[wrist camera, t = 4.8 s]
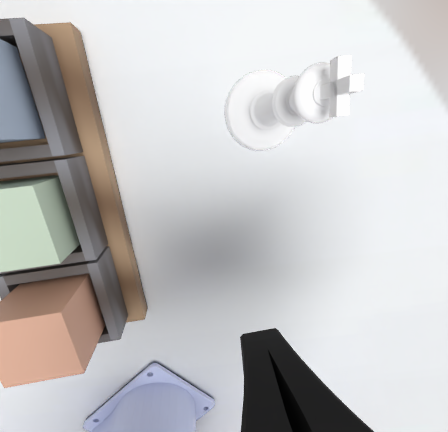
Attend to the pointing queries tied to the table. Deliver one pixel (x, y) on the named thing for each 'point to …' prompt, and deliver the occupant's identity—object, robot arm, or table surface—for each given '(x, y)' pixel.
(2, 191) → the pale green cube
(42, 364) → the peach matte cube
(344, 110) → the chess piece
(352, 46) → the table surface
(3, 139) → the block
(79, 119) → the board
